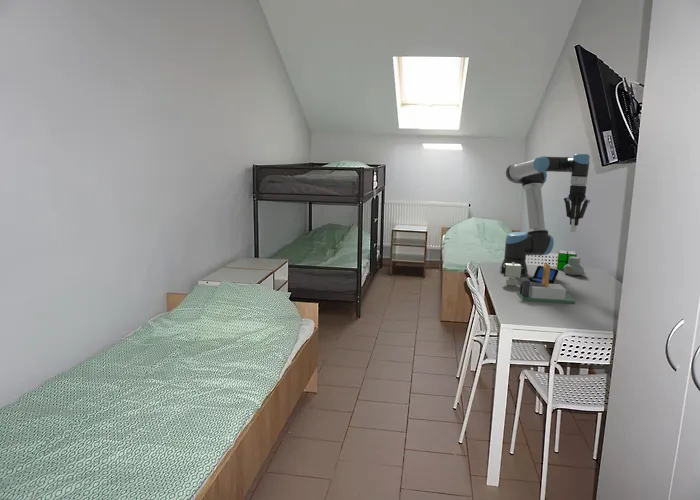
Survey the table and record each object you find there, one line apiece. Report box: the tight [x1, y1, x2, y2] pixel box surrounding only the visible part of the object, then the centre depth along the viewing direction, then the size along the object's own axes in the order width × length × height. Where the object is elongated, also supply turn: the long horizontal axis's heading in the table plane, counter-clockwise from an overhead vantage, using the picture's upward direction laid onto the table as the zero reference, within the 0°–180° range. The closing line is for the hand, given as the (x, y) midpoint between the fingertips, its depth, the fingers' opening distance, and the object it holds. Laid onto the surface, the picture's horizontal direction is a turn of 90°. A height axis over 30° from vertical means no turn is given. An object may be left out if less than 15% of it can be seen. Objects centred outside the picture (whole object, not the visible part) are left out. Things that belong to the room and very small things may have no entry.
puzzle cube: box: [556, 249, 578, 270], centre depth 329 cm, size 10×10×10 cm
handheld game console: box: [527, 265, 559, 284], centre depth 293 cm, size 12×11×7 cm
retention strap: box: [515, 263, 551, 287], centre depth 258 cm, size 14×5×10 cm, turn 85°
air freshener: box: [562, 256, 585, 277], centre depth 313 cm, size 11×8×10 cm
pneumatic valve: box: [499, 262, 525, 287], centre depth 283 cm, size 6×12×12 cm, turn 81°
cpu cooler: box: [516, 277, 576, 304], centre depth 259 cm, size 24×12×9 cm, turn 85°
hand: (573, 231), depth 277 cm, fingers closed
